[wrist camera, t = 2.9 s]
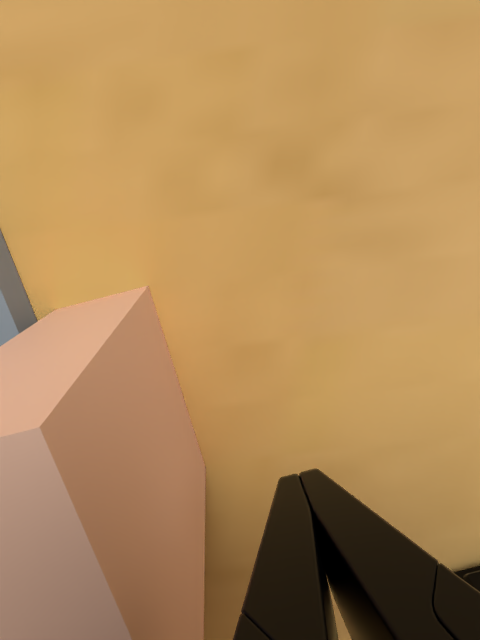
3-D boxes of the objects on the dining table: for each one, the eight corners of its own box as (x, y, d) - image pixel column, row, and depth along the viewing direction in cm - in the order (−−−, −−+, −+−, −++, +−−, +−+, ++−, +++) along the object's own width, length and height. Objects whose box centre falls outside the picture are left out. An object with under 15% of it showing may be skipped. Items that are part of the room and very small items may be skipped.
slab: (205, 467, 17) (201, 800, 8) (124, 488, 17) (17, 848, 8) (148, 285, 15) (40, 427, 5) (55, 309, 15) (-221, 494, 5)
